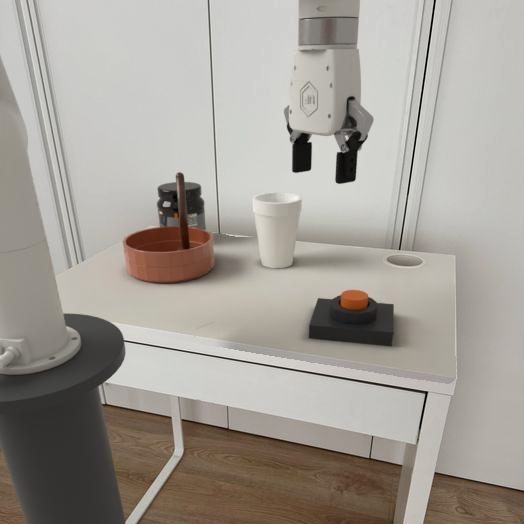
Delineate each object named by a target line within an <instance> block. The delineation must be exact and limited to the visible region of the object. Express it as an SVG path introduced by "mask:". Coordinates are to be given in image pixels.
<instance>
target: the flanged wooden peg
mask: <svg viewBox="0 0 524 524" xmlns="http://www.w3.org/2000/svg"><path fill="white" fill-rule="evenodd" d="M175 182H176V187H177V198H178V209H179V220H180V232H181V243H182V246H181V247H178V248H177V251H181V250H186V249H191V248H195V247H193V246H190V242H189V230H188V218H187V205H186V193H185V182H186V181H185V175H184V173H183V172H181V171H179V172H176V174H175Z"/></svg>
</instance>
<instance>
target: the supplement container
mask: <svg viewBox="0 0 524 524" xmlns="http://www.w3.org/2000/svg"><path fill="white" fill-rule="evenodd" d="M156 188H157V189H156V190H157V197H158V200H157V201H156V208H157V215H158V224H159V227H164V226H180V220H179V209H178V198H177V187H176V181H173V182H166V183H162V184H160V185H158V186H157V187H156ZM185 193H186V205H187V218H188V226H189V227H196V228H200V229H204V230H207V228H206V227H207V226H206V213H205V212H206V210H205V205H206V202H205V199H204V198H203V197H202V194H203V191H202V185H201V184H200V183H198V182H193V181H192V182H191V181H185Z"/></svg>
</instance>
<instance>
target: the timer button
mask: <svg viewBox="0 0 524 524" xmlns="http://www.w3.org/2000/svg"><path fill="white" fill-rule="evenodd" d="M340 295H341V304H340V305H341V307H344V308H347V309H352V310H360V309H365V308H367V305H368V297H369V294H368V293H367V292H365V291H364V290H360V289H347V290H344V291H342V292H341V294H340Z"/></svg>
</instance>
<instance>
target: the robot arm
mask: <svg viewBox="0 0 524 524" xmlns="http://www.w3.org/2000/svg"><path fill="white" fill-rule="evenodd" d="M360 7H361V0H298V12H297V13H298V18H297V19H298V23H297V24H298V27H297V28H298V31H297V49H296V50H295V52H294V56H293V62H292V68H291V75H290V87H289V100H288V101H289V103H288V105H287V106H286V107H285V108H284V109H283V114H284V119H285V122H286V130H287V132H288V134H289V142H290V144H291V146H292V147H291V171H292V173H294V174H299V173H305V172H310V171H311V170H312V161H313V159H312V157H313V156H312V155H313V142H312V141H310V139H311V137H312V136H313V135H315V136H323V137H330V136H334V139H335V141H336V144H337V145H338V147H339V150H340V151H338V152H336V157H335V176H334V177H335V178H334V180H335V183H336V184H337V185H342V184H343V185H344V184H348V183H353V182H355V181H356V179H357V169H358V167H357V166H358V153H359V152H360V151H361V150H362V148H363V145H364V143H365V141H367V139H368V137H369V133H370V131H371V128H372V125H373V123H374V116H373V115H372V114H371V113H370V112H369V111H368V110H367V109H366V108H364V106H363V105H362V103H361V102H362V74H361V72H362V71H361V70H362V69H361V58H360V57H361V56H360V48H358V42H359V41H358V40H359V24H360V19H359V18H360V11H361V10H360V9H361V8H360ZM346 136H347V137H346ZM28 145H29V136H28V130H27V127H26V123H25V120H24V118H23V116H22V112H21V109H20V106H19V103H18V101H17V98H16V95H15V92H14V90H13V87H12V84H11V81H10V78H9V76H8V73H7V71H6V68H5V64H4V61H3V60H2V56H1V55H0V374H6V375H23V374H31V373H36V372H41V371H44V370H48V369H51V368H53V367H56V366H59V365H61V364H63V363H64V362H66V361H68V360H69V359H71V358H72V357H73V356H74V355H75V354H77V352H78V351H79V350H80V348H81V338H80V335H79V333H78V332H77V331H76V330H74V329H72V328H70V327H67V326H66V324H65V320H64V315H63V313H64V311H63V307H62V302H61V298H60V297H61V296H60V293H59V288H58V284H57V279H56V274H55V270H54V269H55V268H54V264H53V261H52V256H51V251H50V247H49V243H48V238H47V234H46V230H45V225H44V220H43V217H42V212H41V208H40V204H39V198H38V195H37V191H36V186H35V181H34V177H33V173H32V169H31V168H32V167H31V164H30V163H31V162H30V157H29V153H28V152H29V151H28V149H29V147H28Z"/></svg>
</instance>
